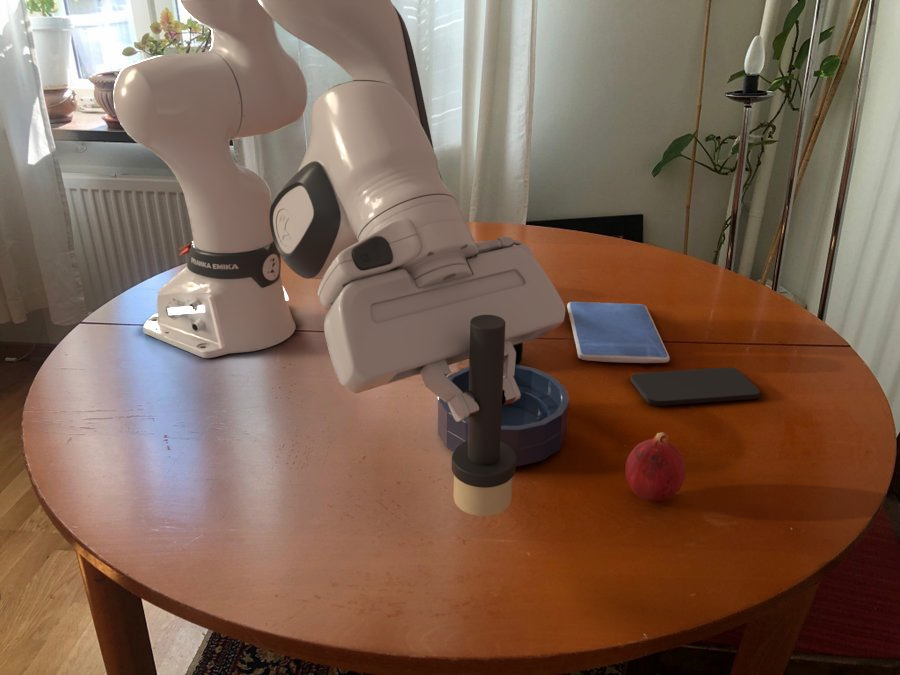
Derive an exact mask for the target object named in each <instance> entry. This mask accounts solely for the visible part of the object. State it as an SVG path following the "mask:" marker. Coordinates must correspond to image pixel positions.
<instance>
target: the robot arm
mask: <svg viewBox="0 0 900 675" xmlns="http://www.w3.org/2000/svg"><path fill="white" fill-rule="evenodd" d="M178 2H179V4H180V6H181V7H182V9H183V10H184V11H185V13H187V15H188V16H189V17H191V18H192V19H193V20H195V21H196V22H198V23H199V24H201V25H202V26H204V27H206V28H207V29H209V30H211V47H210V48H209V50H207V51H203V52H202V51H201V52H199V51H198V52H185V53H174V54H161V55H157V56H153V57H150V58H146V59H142V60H140V61H136V62H134V63H132V64H128V65H125V66H124V67H123V68H122V69H121V70H120V71H119V73H118V75H117V78H116V80H115V82H114V86H113V92H112V93H113V94H112V102H113V107H114V108H113V109H114V112H115V115H116V118H117V121H118V122H119V123H120V126H121V128H123V130H124V132H126V134H127V135H128V136H129V137H130V138H131V139H132V140H133V141H135V142H136V143H137V144H139V145H140V146H142V147H144V148H146V149H148V150H149V151H150V152H152V153H154V154H155V155H156V156H157V157H159V158H160V160H162V161H163V162H164V163H165V164H166V165H167V167H168V168H169V169H170V171H171V172H172V174H173V175H174V176H175V178H176V180H177V182H178V183H179V186H180V188H181V190H182V193H183V196H184V200H185V205H186V208H187V213H188V218H189V223H190V229H191V235H192V241H190V242H189V243H188V244H185V245H184V246H181V247H179V248H178V250H182V251H181V252H180V253H179V256H185V255H186V254H188V256H187V262H186V266H185V267H184V268H182V269H181V270H180V271H179V272H178V273H176V275H174V276H173V277H171V279H169V280H167V282H166V283H165V284H163V285H162V287H160V289H159V291H158V293H157V297H156V298H157V299H156V310H157V312H156V313H154V314H153V315H152V316H150V317H149V318H148V319H147V320H146V321H145V322H144V324H143V326H142V332H143V334H146V335H147V336H150V337H151V338H155V339H157V340H159V341H162V342H163V343H164V342H165V343H167V344H169V345H171V346H174V347H176V348H178V349H181V350H183V351H185V352H188V353H190V354H192V355H196V356H198V357H200V358H203V359H211V358H217V357H220V356H225V355H228V354H238V353H250V352H256V351H260V350H264V349H268V348H271V347H274V346H276V345H278V344H281V343H283V342H285V341H286V340H288V339H289V338H290V337H291V336H293V334H294V333H295V331H296V328H297V326H296V323H295V320H294V318H293V316H292V313H291V311H290V308H289V303H288V301H289V295H288V294H287V291H286V290H285V287H284V286H283V281H282V277H281V271H282V270H281V269H282V267H281V265H282V260H283V262H284V263H285V264H286V266H288V268H289V269H290V270H291V271H292V272H294V273H295V274H297V275H298V276H299V277H301V278H302V279H306V280H310V279H313V280H321V281H320V283H319V285H318V289H317V297H318V300H319V302H320V304H321V306H322V307H323V308H324V309H326V310H328V311H327V313H326V315H325V317H324V321H323V333H324V337H325V340H326V346H327V349H328V353H329V357H330V360H331V364H332V367H333V370H334V372H335V375H336V377H337V380H338V382H339V383H340V386H342V387H343V388H345V389H346V390H347V391H350V392H351V393H353V394H359V393H363V392H366V391H370V390H373V389H376V388H380V387H383V386H387V385H389V384H392V383H396V382H399V381H402V380H406V379H408V378H412V377H415V376H418V375H420V376H421V379H422V380H423V383H424V386H425V387H426V388H427V389H428V390H430V391H431V392H432V393H433V394H435V396H437V398H438V397H439V398H441V399H442V400H443V401H444V402H447V403H448V406H449V408H450V410H451V413H452V415H453V417H454V419H455V421H457V422H459V421H462V420H465V419H468V418H470V417H473V416H475V415H476V414H478V413H479V411H480V410H479V405H478V403H477V402H475V396H474V394H473V392H472V390H471V391H467V392H464V393H463V392H462V391H461V390H460V389H459V388H458V387H457V386H456V385H455V384H454V383H453V382H452V381H450V380H449V379H448V378H447V377H448V376H449V375H451V369H450V367H449V366H450V365H454V364H457V363H460V362H463V361H466V360H470V321H471V319H472V318H474V317H476V316H479V315H495V316H498V317H501V318H503V319H504V320H505V346H504V370H503V393H502V406H504V405H507V404H510V403H513V402H515V401H516V400H518V399H519V398H520V396H521V394H520V391H519V388H518V386H517V384H516V382H515V379H514V377H513V376H514V372H515V360H516V351H515V349H514V347H513V345H516V344H519V343H522V342H523V343H525V342H528V341H531V340H534V339H538V338H541V337H545V336H547V335H549V334H550V333H552V332H553V331H554V330H556V329H557V328H558V327H560V326H561V325H562V324H563V323H564V321H565V317H566V314H565V311H566V306H565V304H564V302H563V299H562V298H561V296H560V294H559V292H558V290H557V289H556V287H555V286H554V284H553V282H552V281H551V279H550V277H549V276H548V275H547V273H546V271H545V270H544V268H543V266H542V265H541V264H540V262H539V261H538V259H537V258H536V257H535V255H534V253H533V251H532V249H531V248H530V246H529V245H528V244H526V243H523V242H522V241H519V240H517V239H513V237H511V236H500V237H497V238H496V239H492V240H483V241H482V240H481V241H477V242H476V240H475V238H474V236H473V234H472V232H471V230H470V227H469V225H468V223H467V221H466V219H465V217H464V215H463V212H462V210H461V208H460V205H459V203H458V201H457V199H456V197H455V196H454V194H453V192H452V191H451V190H450V189H449V188H448V187H447V186H446V184H445V183H444V181H443V178H442V175H441V173H440V170H439V163H438V162H439V161H438V157H437V155H436V153H435V150H434V149H435V148H434V145H433V138H432V133H431V130H430V124H429V121H428V114H427V110H426V104H425V102H424V95H423V90H422V85H421V80H420V75H419V70H418V67H417V62H416V58H415V53H414V49H413V48H414V47H413V45H412V41H411V37H410V34H409V31H408V28H407V26H406V23H405V20H404V19H403V17H402V15H401V13H400V12H399V10H398V9H397V8H396V6H395V5H394V4H393V2H392V0H178ZM275 23H276V24H278V25H279V26H280V27H281V28H282V29H283V30H284V31H286V32H287V33H289V34H290V35H291V36H293V37H294V38H296V39H298V40H300V41H302V42H303V43H306V44H308V45H309V46H311V47H313V48H314V49H316V50H318V51H319V52H320V53H322V54H324V55H325V56H326V57H328V58H329V59H331V60H332V61H333V62H335V63H336V64H337V66H340V67H341V68H342V69H343V70H344V71H345V72H346V73H347V74H348V75H349V77H350V78H351V79H352V80H349V81H346V82H343V83H339V84H336V85H334V86H332V87H330V88H328V89H327V90H326V91H324V92H323V93H321V94H320V95H319V96H318V98H316V100H315V101H314V102H313V105H312V106H311V111H310V138H309V143H308V146H307V149H306V152H305V154H304V157H303V159H302V161H301V164H300V166H299V168H298V169H297V172H296V173H295V174H294V175H293V176H292V177H291V178H290V179H289V180H288V181H287V182H286V183H285V184H284V185H283V186H282V188H281V189H280V191H279V192H278V193H277V195H276V196H275V198H274V200H273V202H272V194H271V189H270V186H269V185H268V183H267V182H266V180H265V179H264V178H263V177H262V176H261V175H260V174H259V173H257V172H255V171H254V170H252V169H249V168H247V167H245V166H243V165H240V164H237V163H236V161H235V159H234V156H233V155H232V150H231V147H230V146H231V145H230V141H232V140H238V139H245V138H250V137H256V136H262V135H263V136H264V135H268V134H271V133H274V132H277V131H279V130H281V129H284V128H286V127H288V126H290V125H292V124H295V123H296V122H298V121H299V120H300V119H301V118H302V117H303V115H304V113H305V110H306V108H307V103H308V85H307V80H306V77H305V75H304V73H303V71H302V69H301V67H300V65H299V64H298V63H297V62H296V60H295V59H294V58H293V57H292V56H291V55H289V54H288V52H287V51H286V50H285V48H284V47H283V45H282V44H281V41H280V39H279V36H278V33H277V29H276V28H277V27H276V24H275ZM281 258H282V259H281Z"/></svg>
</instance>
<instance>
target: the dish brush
mask: <svg viewBox="0 0 900 675" xmlns="http://www.w3.org/2000/svg"><path fill="white" fill-rule="evenodd" d="M504 346H505V320H504V319H503V318H501V317H498V316H495V315H479V316H476V317H474V318H472V319H471V321H470V359H469V366H468V367H469V391H471V390H472V392H473V394H474V396H475V402H477V403H478V405H479V410H480V411H479V413H478V414H476V415H475V416H473V417H470V418H468V441H465V442H463V443H461V444H460V445H458V446H457V447H456V448H455V449H454V451H452V453H451V472H452V474H453V501H454V503H455V505H456V507H457V508H458V509H459V510H460V511H462V512H463V513H466V514H469V515H471V516H476V517H491V516H492V517H493V516H496V515H499V514H501V513H503V512H505V511H506V510H507V509H508V508H509V507H510V505H511V503H512V492H513V477H514V475H515V474H516V456H515V453H514V451H513V450H512V449H511V448H510V447H509V446H507V445H506V444H504V443H502V442H500V440H501V417H502V393H503V370H504Z"/></svg>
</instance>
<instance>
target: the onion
mask: <svg viewBox="0 0 900 675" xmlns="http://www.w3.org/2000/svg"><path fill="white" fill-rule="evenodd" d="M668 440H669V436H668V434H666V433H665V432H664V431H662V432H657V433H656V435H655V436H654V437H653V438H650V439H647V440H643V441H641V442H640V443H638V444H637V445H636V446H635V447H634V448H633V449H632V450H631V451H630V452H629V454H628V456H627V457H626V462H625V469H624V474H625V479H626V482H627V483H628V486H629V488H630V490H631V491H632V492H633V493H634V494H635V495H636V496H637V497H639V498H640V499H642V500H644V501H647V502H650V503H659V502H662V501H663V502H664V501H667V500H668V499H670V498H672V497H674V496H675V495H677V493H679V492H681V489H682V487H683V485H684V482H685V480H686V475H687V470H686V462H685V459H684V457H683V455H682V453H681V452H680V451H679V450H678V449H677V447H676V446H674V444H673V443H672V442H669V441H668Z"/></svg>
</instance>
